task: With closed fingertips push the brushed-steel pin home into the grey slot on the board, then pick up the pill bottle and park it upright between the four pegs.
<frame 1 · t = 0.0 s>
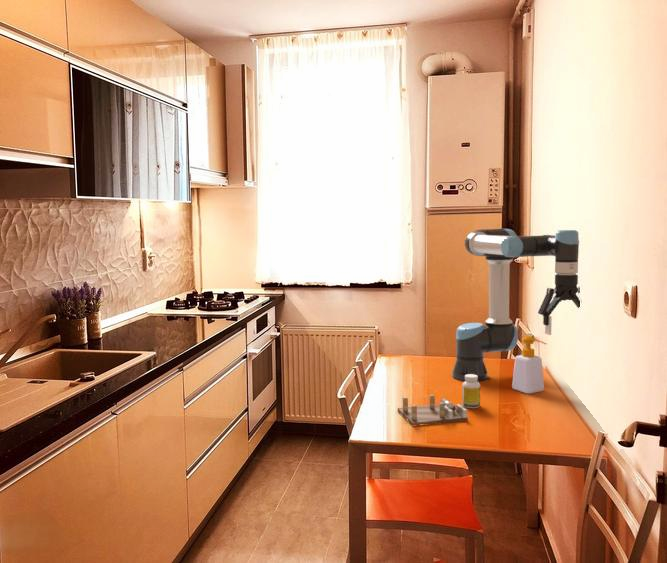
hand: (565, 333, 204), 28 cm above the table, fingers open, 13 cm apart
soap bottle: (531, 392, 229), on the table
pill bottle: (471, 406, 213), on the table
board: (431, 415, 203), on the table
pin: (447, 405, 205), point 3 cm above the table, slide at 0.0 cm
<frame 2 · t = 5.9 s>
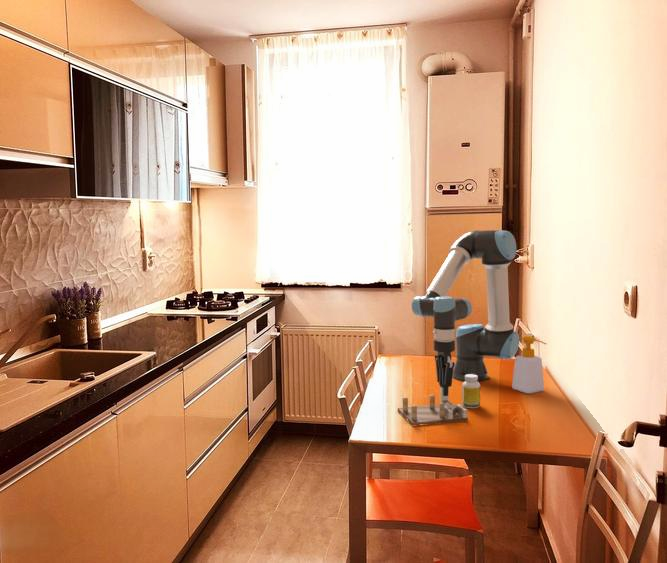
hand: (444, 403, 208), 3 cm above the table, fingers closed
pin: (449, 406, 204), point 3 cm above the table, slide at 1.6 cm, touching gripper
everything else where it was.
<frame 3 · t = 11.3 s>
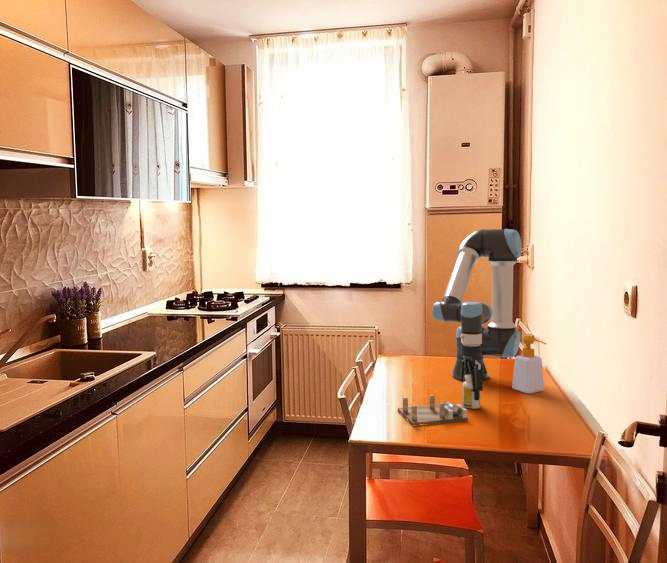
hand: (471, 404, 213), 0 cm above the table, fingers closed on pill bottle, 6 cm apart
pill bottle: (471, 406, 213), on the table, touching gripper
pin: (451, 408, 202), point 3 cm above the table, slide at 3.7 cm
everything else where it was.
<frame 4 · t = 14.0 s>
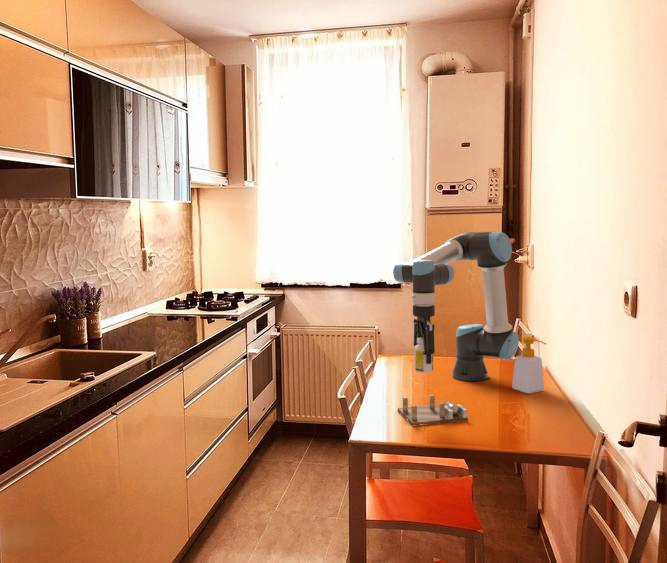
hand: (423, 369, 200), 17 cm above the table, fingers closed on pill bottle, 6 cm apart
pill bottle: (423, 371, 200), point 17 cm above the table, touching gripper
everything else where it was.
when the fingers open (4 cm above the table, at t = 16.9 s): pill bottle drops 2 cm, resting on board.
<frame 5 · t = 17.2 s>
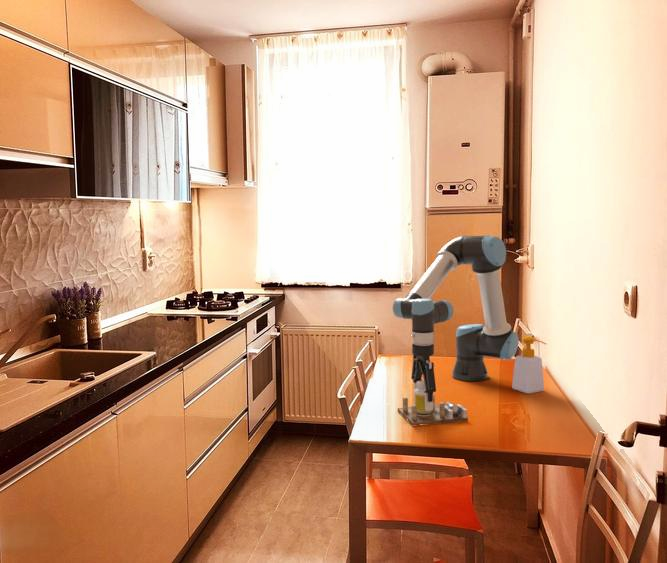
hand: (423, 405, 201), 4 cm above the table, fingers open, 10 cm apart
pill bottle: (423, 414, 202), point 1 cm above the table, touching board
everything else where it was.
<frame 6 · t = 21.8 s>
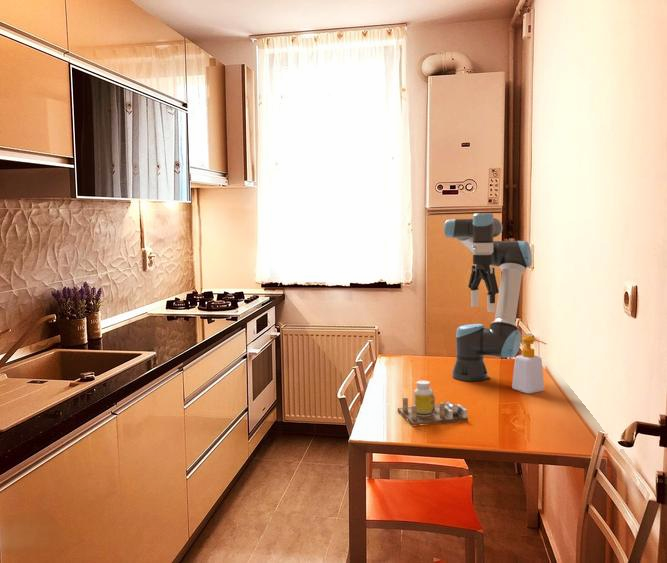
hand: (482, 309, 220), 35 cm above the table, fingers open, 13 cm apart
nothing on the table moved.
at the end: pin slide at 3.7 cm; pill bottle inside the target area (0.0 cm from its centre), point 1.0 cm above the table; pill bottle tilted 0° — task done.
